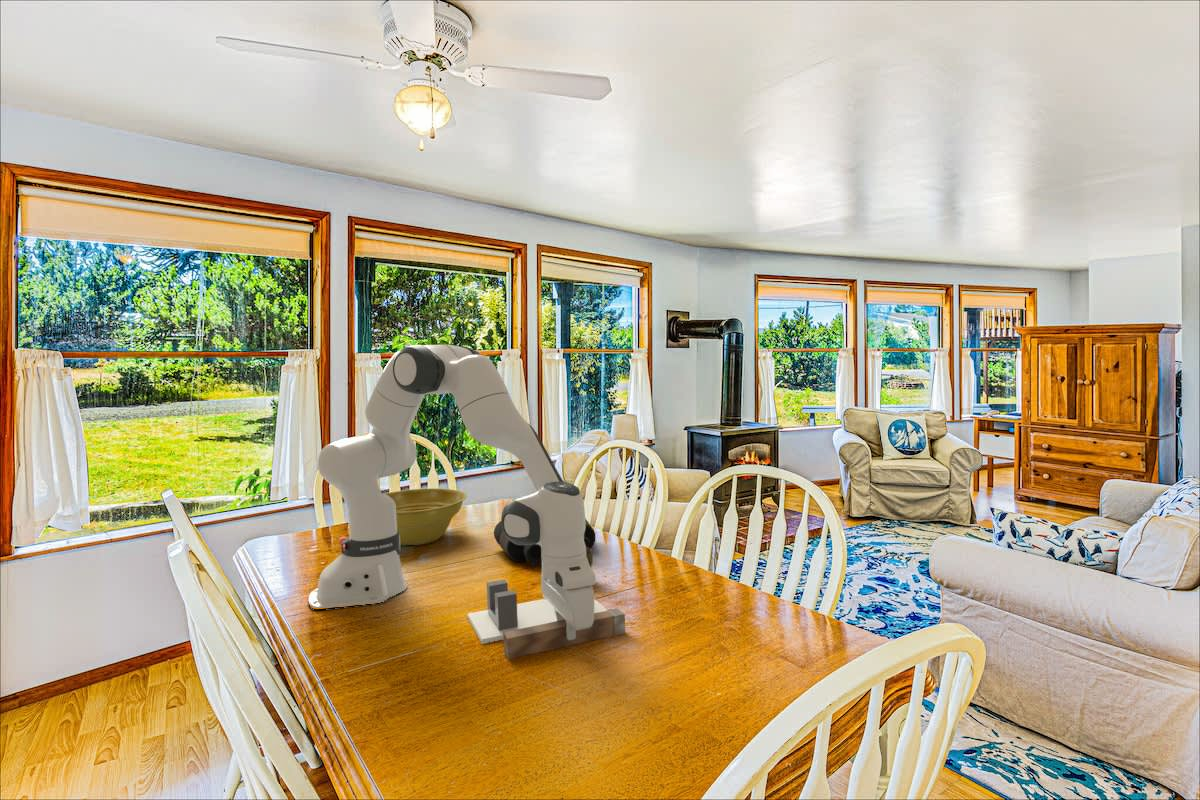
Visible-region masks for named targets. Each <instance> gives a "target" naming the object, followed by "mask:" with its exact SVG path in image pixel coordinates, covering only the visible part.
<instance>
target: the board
mask: <svg viewBox="0 0 1200 800" xmlns="http://www.w3.org/2000/svg"><path fill="white" fill-rule="evenodd" d="M508 587H509V586H508V582H507V581H506V579H500V580H495V581H488V582H486V597H487V598H486V599H487V600H486V601H487V609H486V610H485V609H484V610H480V611H479V610H478V611H474V612H470V613H469V612H468V613H467V619H468V621H469V623H470V625H471V627H472V629H473V630H474V632H475V634H476V636H477V637H478V639H479V641H480V643H481V644H482V645H485V644H490V643H493V642H494V641H495V642H499V640H500V641H504V636H503V632H508V631H513V630H517V629H522V628H527V627H532V626H536V625H541V624H546V623H551V622H556V621H557V620H556V616H555V612H554V607H553V606H552V605H551V604H550V603H549V602H548V601H547V600H546V599H545V598H543V599H536V600H532V601H526V602H521V603H518V600H517V599H518V596H517V593H516V591H515V590H514V589H511V590H508V589H509V588H508ZM607 610H608V609H607V608H606V607H604V606H603V605H602V604H601V603H600V602H599V601H598V600H596V599H595V598H594V613H599V612H603V611H607ZM489 642H490V643H489Z"/></svg>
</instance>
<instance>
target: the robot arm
mask: <svg viewBox="0 0 1200 800" xmlns="http://www.w3.org/2000/svg"><path fill="white" fill-rule="evenodd" d="M426 394H427V395H445V394H452V396H453V398H454V400H455V402H456V405H457V408H458V411H459V414H460V417H461V419H462V422H463V424H464V427H465V429H466V430H467V432H468V434H469V436H471V438H472V439H473V440H475V441H477V442H478V443H479V444H480V445H481V444H482V445H484V446H487V447H491V448H496V449H499V450H503V451H505V452H508V453H510V454H511V455H513V456H514V457H516V458H517V459H518V460H519V461H520V462H521V464H522V466H523V467H524V469H525V471H526V473H527V475H528V477H529V478H530V481H531V482H532V484H533V487H534V488H535V490H536V491H534V492H532V493H530V494H526V495H523V496H519V497H517V498H513V499H512V500H510V501H508V502H507V503H506V504H505V505H504V507H503V510H502V512H501V518H500V521H501V524H502V529H503V532H504V534H505V535H506V537H507V538H508V539H509V540H510V541H511V542H513V543H514V544H516V545H534V544H538V545H540V546H541V558H542V564H541V575H540V576H541V577H540V578H541V581H540V582H541V584H540V586H541V587H540V589H541V594H542V596H543V599H546V600H547V601H548V602H549V603H550V604H551V605H552V606H553V607H554V612H555V616H556V620H557V621H560V620H566V623H567V627H566V629H565V637H566V638H567V639H568V640H573V639H575V638H576V630H582V629H587V628H590V627H591V626H592V624H593V622H594V599H595V592H594V587H593V586H594V585H596V582H597V580H596V579H597V577H596V573H595V572H594V570H593V569H592V566H591V567H590V565H589V562H588V559H587V557H586V546H585V543H584V532H585V518H586V511H585V503H584V498H583V495H582V492H581V489H580V488H579V487H577V486H576V485H574V484H572V483H570V482H567V481H566V482H565V481H564V480H563V478H562V476H561V475H560V473H559V471H558V469H557V467H556V465H555V464H554V462H553V460H552V458H551V456H550V455H549V452H548V451H547V449H546V446H545V445H544V444H543V442H542V440H541V438H540V436H539V435H538V434H537V431H536V430H535V428H534V427H532V425H531V424H529V422H527V421H526V420H525V419H524V418H523V416H522V415H521V413H520V412H519V410H518V408H517V407H516V406H515V404H514V402H513V400H512V398H511V396H510V395H511V394H510V393H509V390H508V388H507V386H506V384H505V382H504V380H503V378H502V376H501V374H500V372H499V371H498V369H497V367H496V366H495V364H494V363H493V361H492V360H491V359H490V358H489V357H488V356H487V355H484V354H481V353H480V352H479V351H477V350H476V349H473V348H471V347H467V346H464V345H461V346H458V345H452V344H443V343H441V344H425V345H424V344H413V345H409V346H406V347H403V348H401V349H400V350H398V351H396V352H395V353H394V354H393V355H392V357H391V358H390V359H389V361H388V362H387V364H386V366H384V368H383V370H382V372H381V374H380V375H379V378H378V380H376V384H375V386H374V388H373V391H372V393H371V396H370V397H369V400H368V401H367V404H366V407H365V411H364V412H365V417H366V419H367V421H368V423H369V424H370V426H371V427H373V428H372V429H371V431H370V433H368V434H366V435H362V436H361V435H360V436H353V437H347V438H341V439H339V440H337V441H336V440H335V441H334V442H331V443H329V444H326V445H325V446H324V447H323V448H322V449H321V450H320V453H319V455H318V458H317V459H318V460H317V467H318V471H319V475H321V477H322V479H323V480H325V482H327V483H328V484H330V485H332V486H333V487H334V488H335V489H337V490H338V492H339V493H340V494H341V497H342V498H343V500H344V503H345V506H346V510H347V518H348V526H349V529H348V530H349V536H348V537H347V536H341V537H340V538H339V541H338V543H339V545H340V548H341V549H340V550H341V553H340V555H339V556H338V557H336V558H335V559H334V560H333V561H332V562H331V563H330V564H328V565H327V566H326V567H325V568H324V569H322V572H321V573H320V575H319V578H318V583H317V588H315V589H313V590H311V592H310V593H309V595H308V599H307V600H308V601H309V604H310V606H312V607H314V608H331V607H338V606H348V605H350V606H351V605H361V604H362V605H363V604H371V603H380V602H383V603H385V602H386V601H388V600H389V599H390V598H389V597H391V598H393V597H395V596H397V595H396V594H398V593H400V592H401V593H403V592H404V591H406V589H407V587H408V584H407V582H406V579H405V575H404V573H403V569H402V564H401V563H402V562H401V558H400V555H401V545H400V536H399V532H398V531H397V516H396V504H395V502H394V500H393V499H392V498H391V497H389V496H387V495H385V494H386V493H382V492H383V491H381V489H380V486H379V483H378V481H379V479H381V478H386V477H390V476H396V475H398V474H400V473H403V472H405V470H408V469H409V468H411V467H413V465H414V464H415V462H416V460H417V453H418V451H417V446H416V443H415V442H414V440H413V438H412V437H411V436H410V435H411V428H412V426H413V423H414V421H415V418H416V416H417V413H418V411H419V408H420V407H421V405H422V402H423V401H424V398H425V395H426ZM402 591H403V592H402ZM401 593H400V594H401ZM394 595H395V596H394ZM398 595H399V594H398ZM392 596H393V597H392ZM388 598H389V599H388ZM387 599H388V600H387ZM385 600H386V601H385ZM308 601H307V602H308ZM384 601H385V602H384ZM309 604H308V605H309ZM380 604H381V603H380ZM363 606H364V605H363Z"/></svg>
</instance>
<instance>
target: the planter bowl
mask: <svg viewBox="0 0 1200 800" xmlns="http://www.w3.org/2000/svg"><path fill="white" fill-rule="evenodd" d="M384 494H385V495H387V496H389V497H391V498H392V499H393V500H394V502H395V504H396V516H397V531H398V532H399V536H400V546H404V545H414V546H421V544H422V545H427V544H430V542H431V543H433V542H436V541H437V540H439V539H440V538H441V537H442V536H443V535H445V532H446V531H447V529H448V528H449V526H450V524H451V521H452V518H453V517H454V516H456V515H457V514H458V513H459V512H460V510H461V507H462V505H463V502H464V501H465V500H466V499H467V497H468V496H467V494H466V493H465V492H463V491H460V490H457V489H453V488H452V489H451V488H434V487H433V488H414V489H413V488H412V489H405V490H398V491H392V492H388V493H384ZM426 543H427V544H426Z"/></svg>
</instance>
